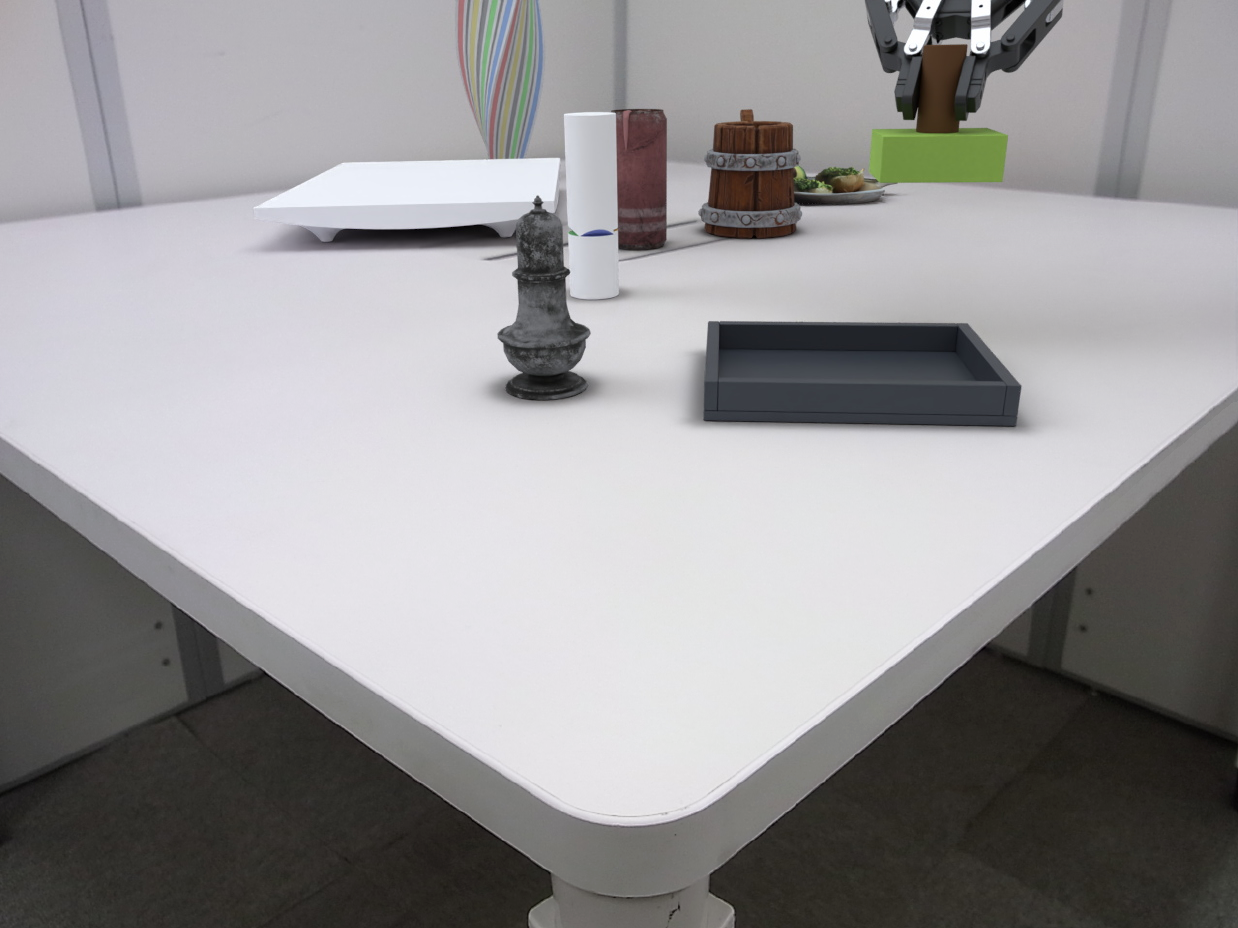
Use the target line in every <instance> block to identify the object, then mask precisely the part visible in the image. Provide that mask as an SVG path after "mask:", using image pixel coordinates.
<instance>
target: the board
mask: <svg viewBox="0 0 1238 928" xmlns="http://www.w3.org/2000/svg"><path fill="white" fill-rule="evenodd" d="M561 166H562V164H561V157H536V158H533V157H532V158H530V157H529V158H525V159H488V158H487V159H484V158H483V159H448V160H446V159H445V160H443V159H441V160H407V161H406V160H404V161H403V160H402V161H401V160H398V161H356V162H355V161H354V162H353V161H352V162H341V163H339V164H337V165H335V166H334V167H331V168H329V169H328V170H325V171H323V172H321V173H320V174H318V175H315V176H313V177H312V178H309V179H308V180H306V181H303V182H301V183H300V184H298V185H296V186H294V187H292V188H289V189H288V190H286V191H284V192H282V193H280V194H278V195H276V196H274V197H272V198H270V199H268V200H266V201H264V202H262V203H260V204H259V205H256V206H254V207H252V211H253V218H254V221H259V222H267V223H275V224H282V225H291V226H293V225H294V226H298V227H302V228H304V229H306V230H308V231H310V232H311V233H312V234H314V235H315V236H316V237H317V238H318V239H319V241H320V242H321V243H328V242H333V241H334V238H335V236H337V234H338V233H340V232H341V231H342V230H345V229H353V230H354V229H355V230H356V229H357V230H415V229H417V230H419V229H438V228H451V227H452V228H453V227H464V226H474V225H482V226H485V227H489V228H490V229H493V230H494V231H495V232H496V233H497V234H498V235H499V236H500V238H511V237H512V236H513V234H514V233H515V232H516V223H517V221H518V220H519V218H520V217H522V216H523V215H524V214H526V213H529V212H530V211H531V210H532V209H534V204H533V203H532V202H534V199H535V198H536V196H537V195H538V196H539V198H541V199H542V201H543V202H544V203H543V204H542V209H546V211H547V212H550V213H553V214H555V213H556V211H557V208H558V203H559V197H560V187H561V185H560V184H561V169H562V168H561Z"/></svg>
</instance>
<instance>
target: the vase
mask: <svg viewBox="0 0 1238 928" xmlns="http://www.w3.org/2000/svg"><path fill="white" fill-rule="evenodd" d="M454 4H455V6H454V37H455V39H454V40H455V51H456V59H457V64H458V69H459V74H460V80H461V82H462V87H463V89H464V93H465V95H466V99H467V102H468V104H469V109H470V111H471V113H472V115H473V118H474V121H475V123H476V126H477V129H478V131H479V134H480V136H481V139H482V141H483V143H484V146H485V148H486V153H487V159H527V158H526V157H527V154H528V152H529V151H528V150H529V147H530V144H531V140H532V136H533V132H534V129H535V125H536V122H537V121H536V120H537V117H538V112H539V109H540V103H541V98H542V92H543V87H544V80H545V70H546V69H545V68H546V42H545V31H544V23H543V16H542V15H543V14H542V10H541V3H540V0H455V3H454Z"/></svg>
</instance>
